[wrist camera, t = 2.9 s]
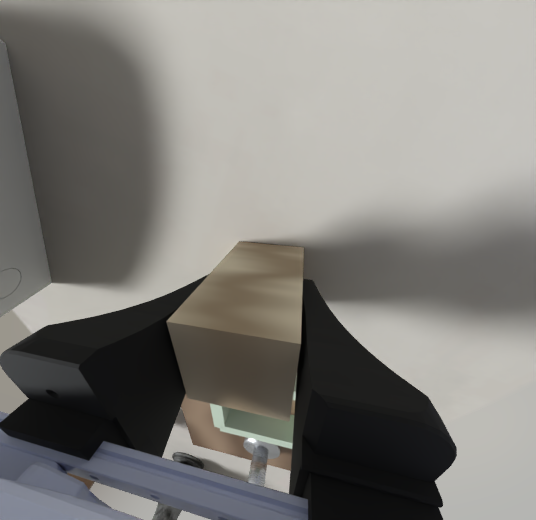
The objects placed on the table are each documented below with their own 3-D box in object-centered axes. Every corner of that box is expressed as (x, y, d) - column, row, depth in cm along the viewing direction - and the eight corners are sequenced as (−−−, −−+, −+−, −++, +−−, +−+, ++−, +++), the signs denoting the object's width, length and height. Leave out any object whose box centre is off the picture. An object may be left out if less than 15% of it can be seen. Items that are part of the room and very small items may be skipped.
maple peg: (303, 247, 11) (300, 344, 5) (297, 301, 13) (289, 421, 7) (239, 241, 12) (166, 321, 6) (241, 293, 14) (187, 398, 7)
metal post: (281, 439, 20) (275, 503, 16) (279, 456, 21) (273, 517, 18) (244, 429, 20) (229, 489, 16) (245, 447, 22) (232, 505, 18)
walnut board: (332, 349, 14) (334, 361, 13) (303, 462, 23) (303, 474, 22) (165, 321, 16) (157, 330, 16) (197, 434, 25) (193, 444, 24)
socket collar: (317, 367, 14) (319, 396, 12) (305, 423, 18) (305, 452, 16) (215, 348, 15) (204, 372, 13) (223, 404, 19) (214, 429, 17)
